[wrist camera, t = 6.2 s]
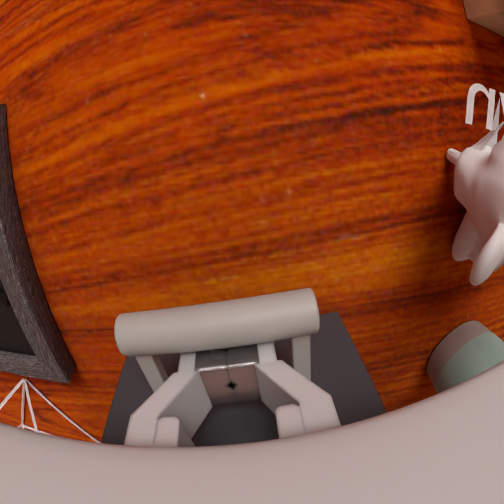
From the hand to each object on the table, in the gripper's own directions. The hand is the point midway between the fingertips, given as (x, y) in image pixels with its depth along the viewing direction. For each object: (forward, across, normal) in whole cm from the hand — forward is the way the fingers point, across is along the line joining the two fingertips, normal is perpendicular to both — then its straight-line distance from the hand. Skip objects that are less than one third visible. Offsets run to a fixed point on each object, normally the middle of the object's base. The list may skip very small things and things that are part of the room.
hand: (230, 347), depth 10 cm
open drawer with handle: (+4, 0, +5) cm, 6 cm away
